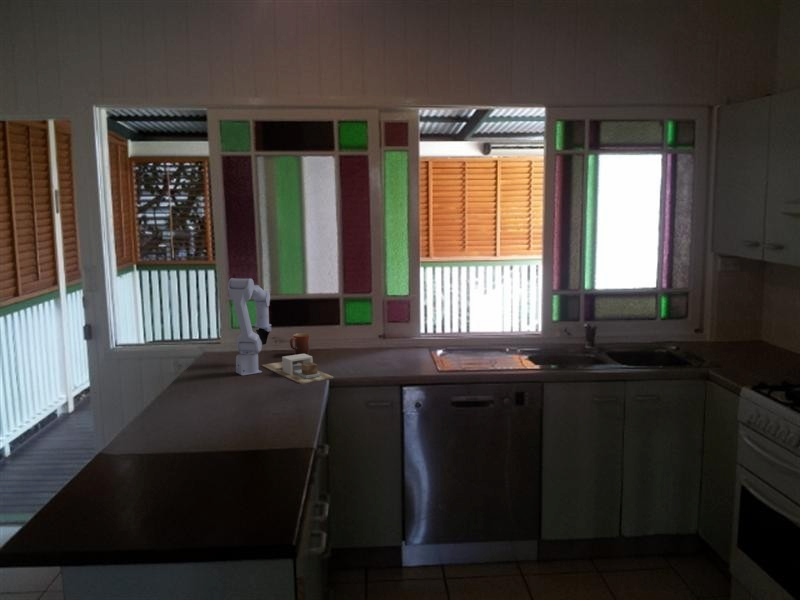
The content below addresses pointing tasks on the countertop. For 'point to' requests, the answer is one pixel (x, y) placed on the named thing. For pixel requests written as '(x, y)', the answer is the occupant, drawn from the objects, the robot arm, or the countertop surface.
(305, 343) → the mug
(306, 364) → the walnut block
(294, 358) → the tunnel
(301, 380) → the beige flat rectangular board
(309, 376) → the sled
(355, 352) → the countertop surface
